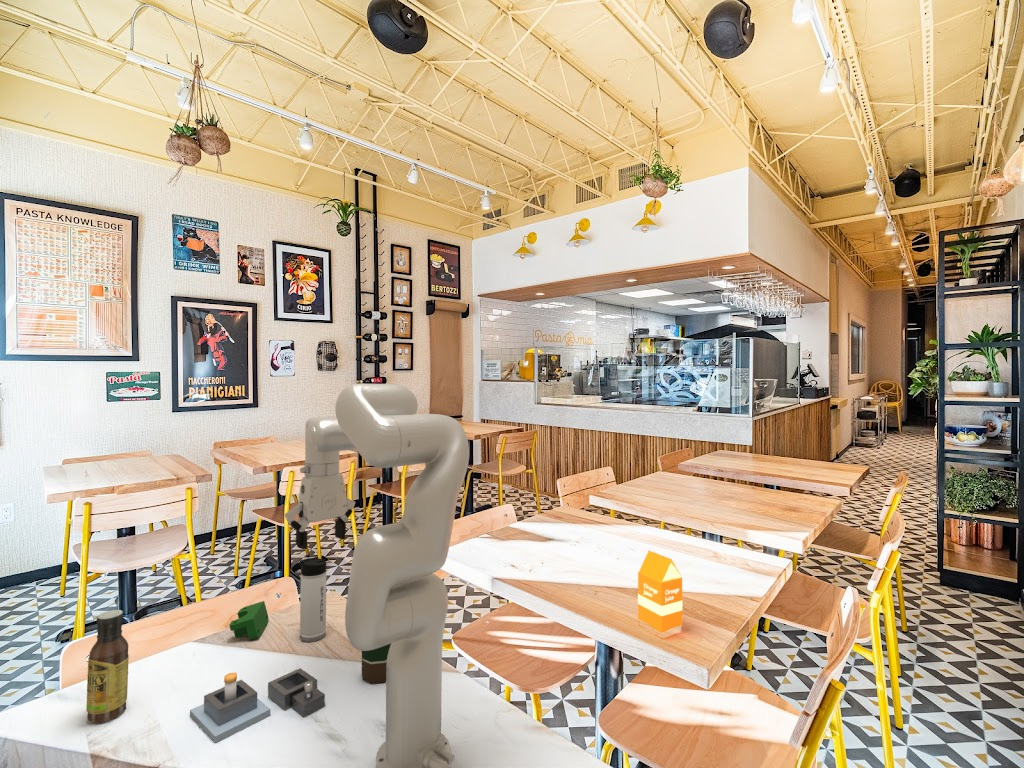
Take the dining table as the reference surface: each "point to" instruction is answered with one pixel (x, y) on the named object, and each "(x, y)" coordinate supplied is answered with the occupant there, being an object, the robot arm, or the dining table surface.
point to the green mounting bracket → (250, 621)
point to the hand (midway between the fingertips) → (321, 543)
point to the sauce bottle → (107, 670)
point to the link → (288, 687)
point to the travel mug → (313, 599)
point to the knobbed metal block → (308, 700)
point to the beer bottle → (375, 665)
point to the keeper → (234, 725)
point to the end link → (230, 703)
